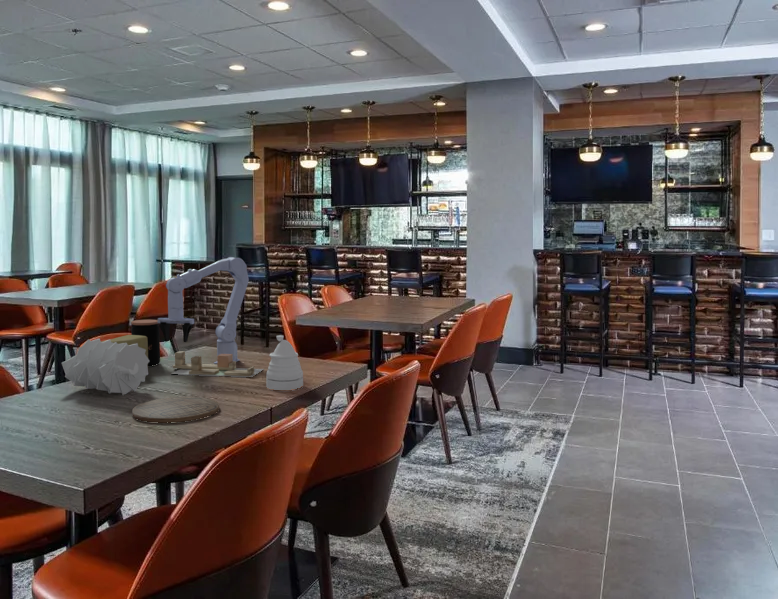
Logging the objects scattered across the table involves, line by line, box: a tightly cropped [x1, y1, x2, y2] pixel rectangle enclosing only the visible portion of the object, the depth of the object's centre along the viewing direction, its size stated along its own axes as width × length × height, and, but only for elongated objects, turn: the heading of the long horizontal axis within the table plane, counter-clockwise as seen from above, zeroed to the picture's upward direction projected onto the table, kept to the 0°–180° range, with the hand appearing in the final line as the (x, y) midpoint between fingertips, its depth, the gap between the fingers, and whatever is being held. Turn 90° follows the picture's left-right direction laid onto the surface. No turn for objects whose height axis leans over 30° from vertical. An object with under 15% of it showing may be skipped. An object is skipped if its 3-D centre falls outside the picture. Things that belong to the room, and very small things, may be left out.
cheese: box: [100, 334, 149, 369], centre depth 241 cm, size 22×10×15 cm, turn 162°
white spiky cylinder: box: [61, 338, 150, 396], centre depth 222 cm, size 18×18×25 cm
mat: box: [170, 367, 265, 378], centre depth 254 cm, size 14×32×1 cm, turn 83°
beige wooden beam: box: [172, 350, 237, 370], centre depth 258 cm, size 5×24×6 cm, turn 83°
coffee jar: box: [130, 319, 161, 367], centre depth 266 cm, size 11×11×18 cm
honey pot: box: [265, 334, 304, 390], centre depth 231 cm, size 13×13×18 cm
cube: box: [216, 354, 233, 367], centre depth 257 cm, size 4×4×4 cm
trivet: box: [132, 396, 220, 423], centre depth 198 cm, size 25×25×2 cm
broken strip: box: [189, 355, 255, 376], centre depth 249 cm, size 5×24×6 cm, turn 83°
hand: (176, 341), depth 262 cm, fingers open, 7 cm apart
